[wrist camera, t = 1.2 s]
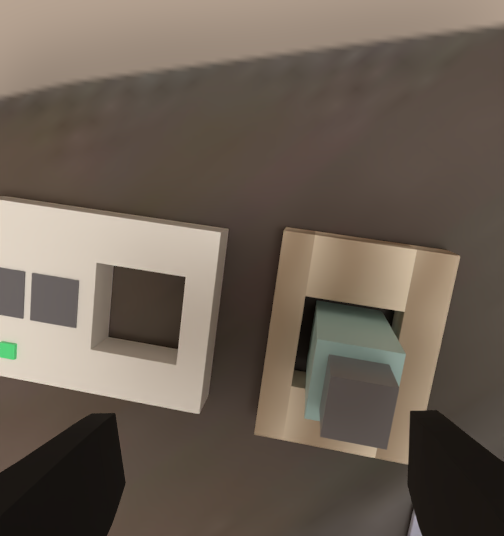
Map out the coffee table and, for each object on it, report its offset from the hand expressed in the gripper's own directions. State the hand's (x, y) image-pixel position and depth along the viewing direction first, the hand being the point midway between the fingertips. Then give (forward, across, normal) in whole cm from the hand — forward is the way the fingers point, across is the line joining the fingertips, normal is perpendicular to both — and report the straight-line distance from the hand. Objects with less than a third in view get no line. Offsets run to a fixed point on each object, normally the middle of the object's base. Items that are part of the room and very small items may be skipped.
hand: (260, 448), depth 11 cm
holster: (+12, -3, +2) cm, 12 cm away
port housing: (+13, +9, 0) cm, 15 cm away
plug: (+12, -3, +2) cm, 12 cm away
